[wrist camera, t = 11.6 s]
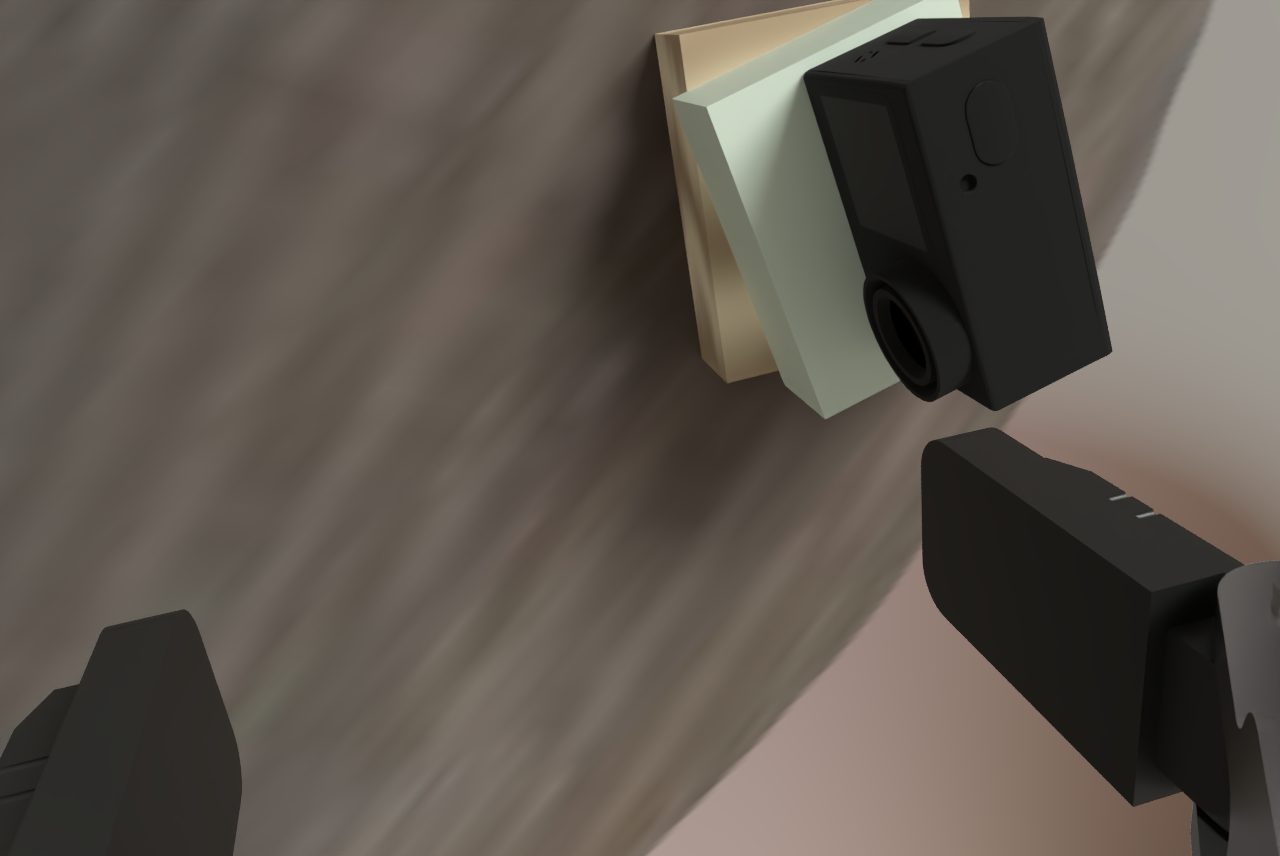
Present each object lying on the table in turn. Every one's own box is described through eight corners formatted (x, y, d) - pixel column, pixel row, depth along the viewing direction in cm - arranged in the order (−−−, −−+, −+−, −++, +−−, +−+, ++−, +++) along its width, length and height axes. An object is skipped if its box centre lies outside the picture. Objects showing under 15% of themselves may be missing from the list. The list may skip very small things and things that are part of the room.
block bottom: (649, 33, 39) (679, 35, 36) (914, -16, 41) (968, -20, 37) (697, 354, 44) (727, 383, 41) (930, 297, 46) (979, 320, 43)
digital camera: (765, 85, 33) (863, 100, 27) (915, 14, 33) (1046, 13, 27) (858, 363, 37) (960, 433, 31) (989, 298, 38) (1116, 353, 31)
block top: (671, 98, 36) (706, 107, 33) (895, -12, 37) (954, -15, 33) (784, 384, 41) (825, 419, 38) (980, 284, 42) (1038, 308, 38)
